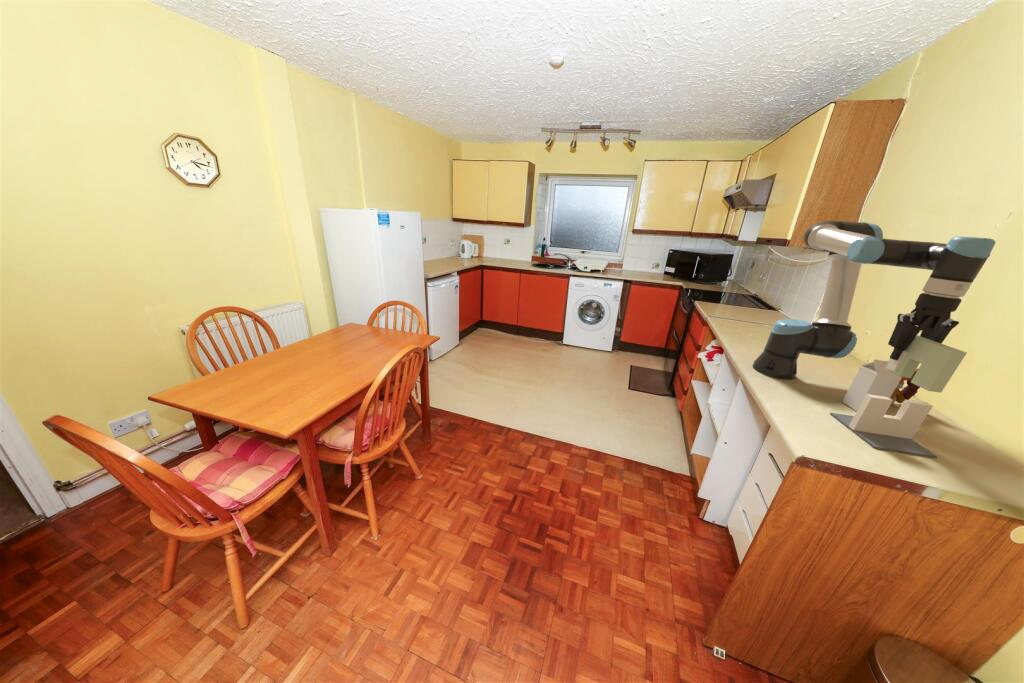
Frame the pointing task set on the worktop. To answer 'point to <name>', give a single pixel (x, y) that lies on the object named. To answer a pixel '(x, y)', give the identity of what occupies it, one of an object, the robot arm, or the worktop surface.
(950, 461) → the worktop surface
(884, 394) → the milk carton
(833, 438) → the worktop surface
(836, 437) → the worktop surface
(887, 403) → the notched wall on base
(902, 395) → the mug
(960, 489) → the worktop surface
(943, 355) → the pale green tall block
